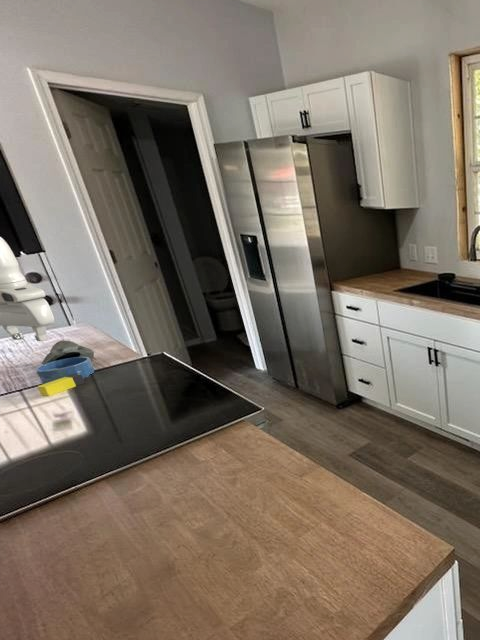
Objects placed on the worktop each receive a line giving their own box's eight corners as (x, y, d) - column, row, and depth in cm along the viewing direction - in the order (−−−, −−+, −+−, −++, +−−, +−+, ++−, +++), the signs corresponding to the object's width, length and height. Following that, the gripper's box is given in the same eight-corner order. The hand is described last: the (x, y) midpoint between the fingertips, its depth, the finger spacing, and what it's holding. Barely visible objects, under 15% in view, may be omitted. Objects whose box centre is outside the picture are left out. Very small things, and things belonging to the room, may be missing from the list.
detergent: (99, 365, 142) (94, 348, 159) (89, 346, 139) (85, 331, 156) (46, 380, 134) (47, 360, 150) (34, 360, 131) (36, 342, 147)
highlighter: (49, 396, 120) (44, 386, 119) (41, 395, 121) (36, 385, 120) (85, 383, 128) (81, 374, 127) (78, 382, 129) (73, 373, 128)
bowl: (60, 387, 126) (53, 372, 124) (31, 384, 128) (24, 370, 127) (105, 371, 137) (99, 357, 135) (77, 369, 140) (71, 355, 138)
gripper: (-35, 295, 112) (-10, 342, 118) (18, 296, 108) (42, 345, 113) (-4, 289, 118) (19, 335, 123) (48, 290, 114) (69, 337, 119)
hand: (30, 339), depth 118 cm, fingers open, 8 cm apart
